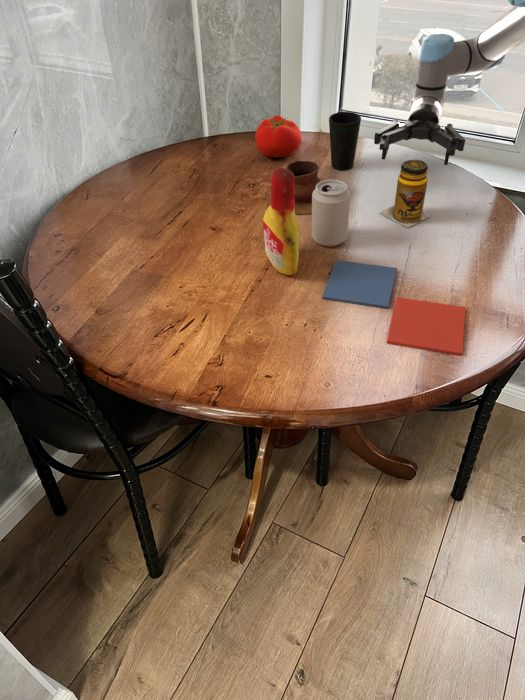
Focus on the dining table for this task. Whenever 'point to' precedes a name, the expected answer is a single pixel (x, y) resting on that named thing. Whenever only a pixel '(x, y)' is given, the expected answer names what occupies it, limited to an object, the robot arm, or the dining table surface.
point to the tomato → (277, 137)
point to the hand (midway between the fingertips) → (414, 156)
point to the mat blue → (360, 284)
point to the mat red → (427, 326)
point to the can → (330, 212)
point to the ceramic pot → (302, 185)
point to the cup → (343, 139)
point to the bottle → (282, 224)
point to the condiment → (409, 194)
